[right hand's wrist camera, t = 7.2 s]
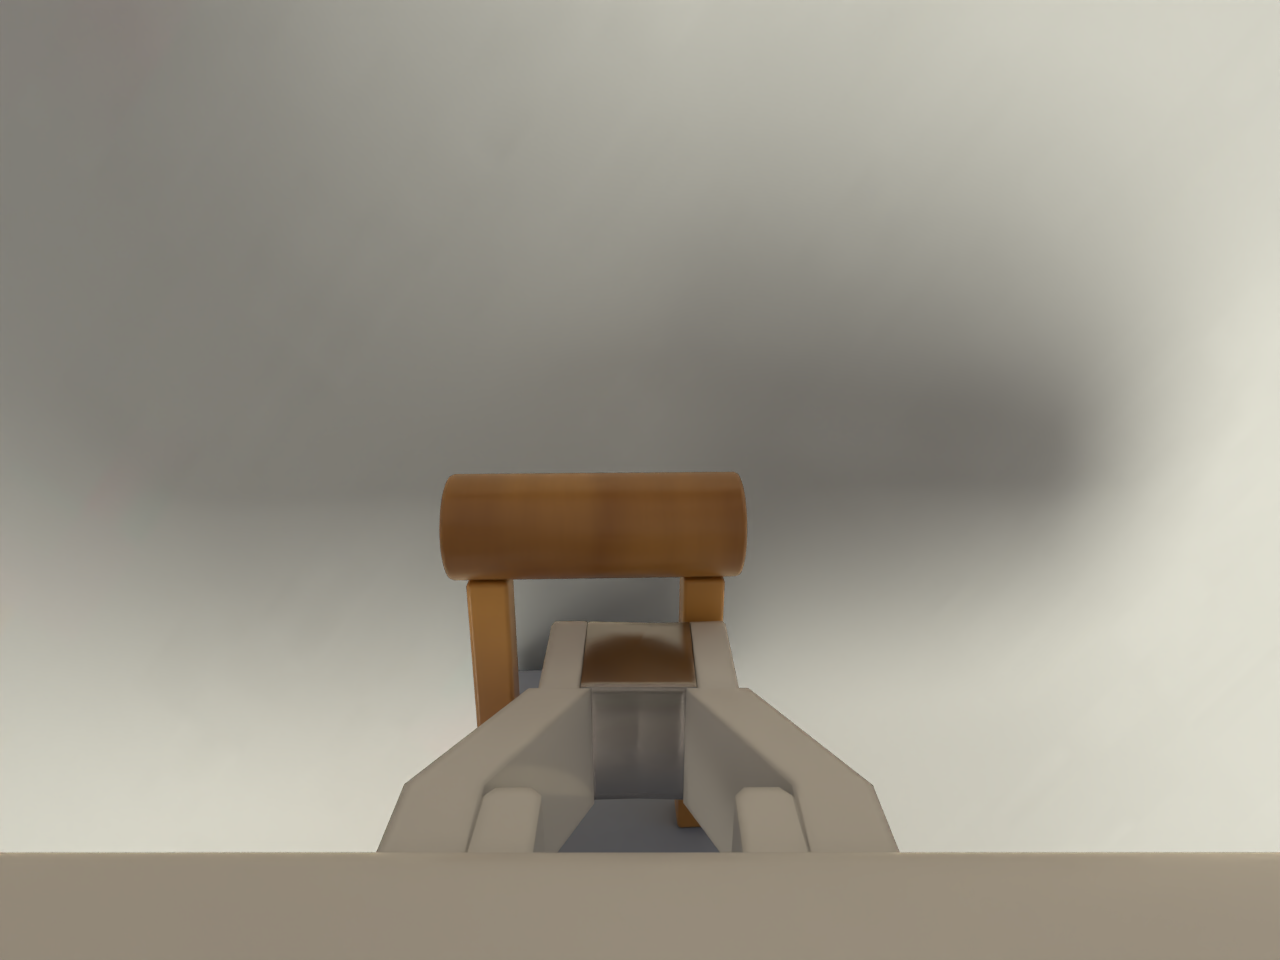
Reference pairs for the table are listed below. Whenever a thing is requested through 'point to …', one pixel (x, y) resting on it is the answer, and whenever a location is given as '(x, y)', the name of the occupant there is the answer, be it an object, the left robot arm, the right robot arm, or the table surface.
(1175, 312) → the table surface
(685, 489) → the drawer
